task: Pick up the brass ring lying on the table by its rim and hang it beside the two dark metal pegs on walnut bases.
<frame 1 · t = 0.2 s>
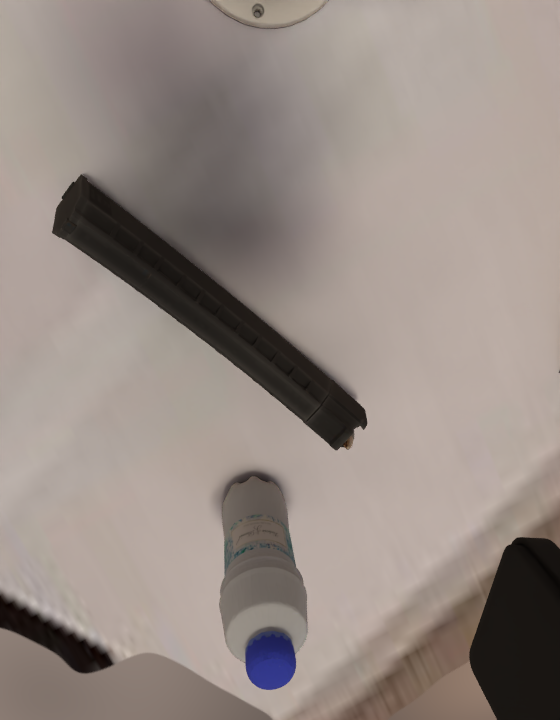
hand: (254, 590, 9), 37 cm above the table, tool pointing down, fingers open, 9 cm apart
bottle: (253, 496, 52), on the table
magazine: (224, 310, 45), on the table
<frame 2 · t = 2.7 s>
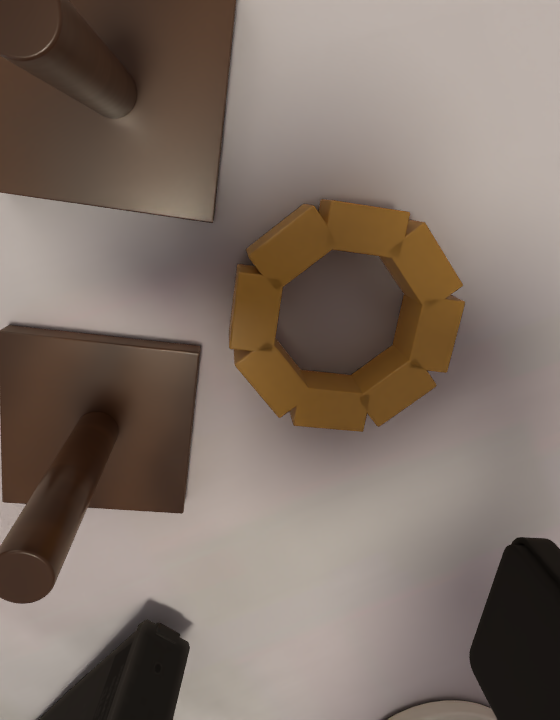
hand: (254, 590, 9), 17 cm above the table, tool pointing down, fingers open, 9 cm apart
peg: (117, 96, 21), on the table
ring: (336, 312, 25), on the table
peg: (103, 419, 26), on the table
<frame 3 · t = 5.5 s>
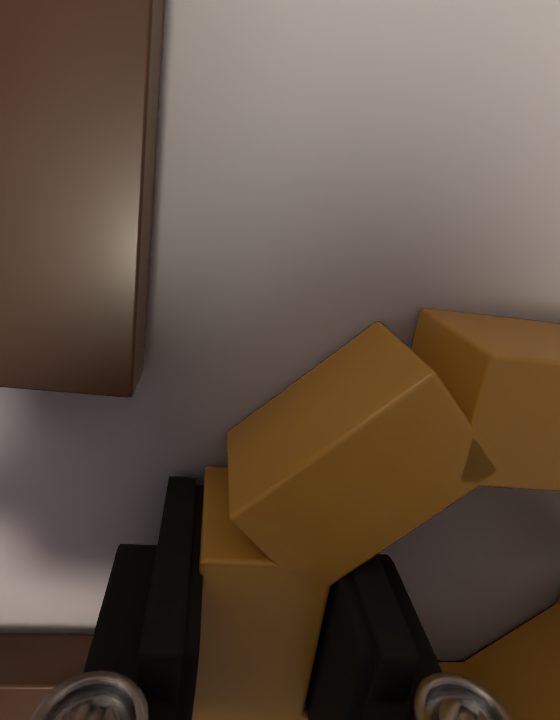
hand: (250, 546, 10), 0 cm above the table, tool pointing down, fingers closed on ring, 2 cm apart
ring: (440, 549, 11), on the table, touching gripper
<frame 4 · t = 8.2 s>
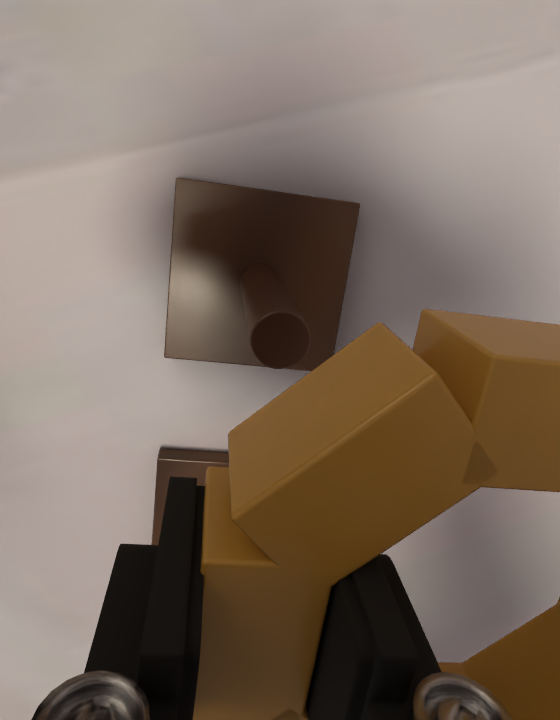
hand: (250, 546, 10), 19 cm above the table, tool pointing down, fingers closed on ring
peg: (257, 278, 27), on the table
ring: (441, 550, 11), point 18 cm above the table, touching gripper
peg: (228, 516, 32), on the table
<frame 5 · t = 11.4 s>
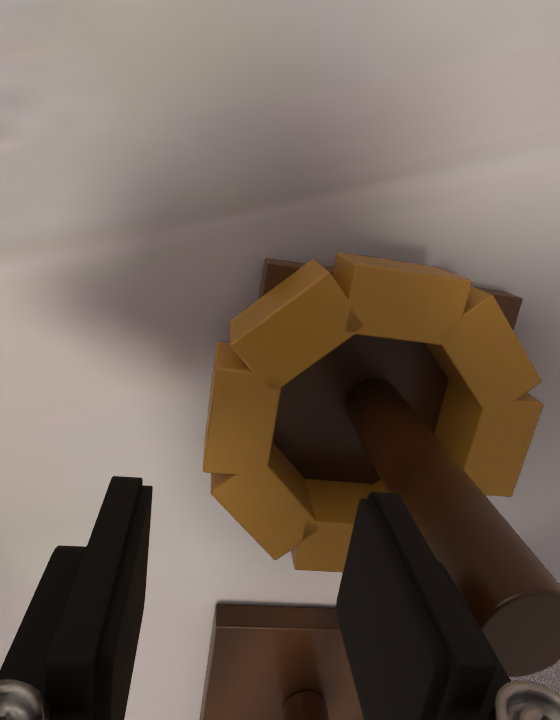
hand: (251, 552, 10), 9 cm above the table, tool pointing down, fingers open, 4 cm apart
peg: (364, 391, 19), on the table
ring: (355, 403, 18), point 1 cm above the table, touching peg
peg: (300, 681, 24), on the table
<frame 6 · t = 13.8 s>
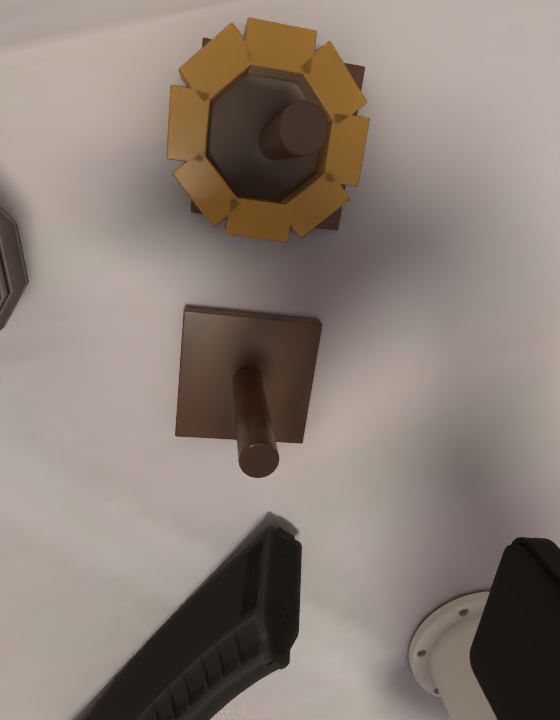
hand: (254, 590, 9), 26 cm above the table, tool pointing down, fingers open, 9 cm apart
magazine: (167, 641, 43), on the table
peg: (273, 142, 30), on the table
ring: (264, 140, 29), point 1 cm above the table, touching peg
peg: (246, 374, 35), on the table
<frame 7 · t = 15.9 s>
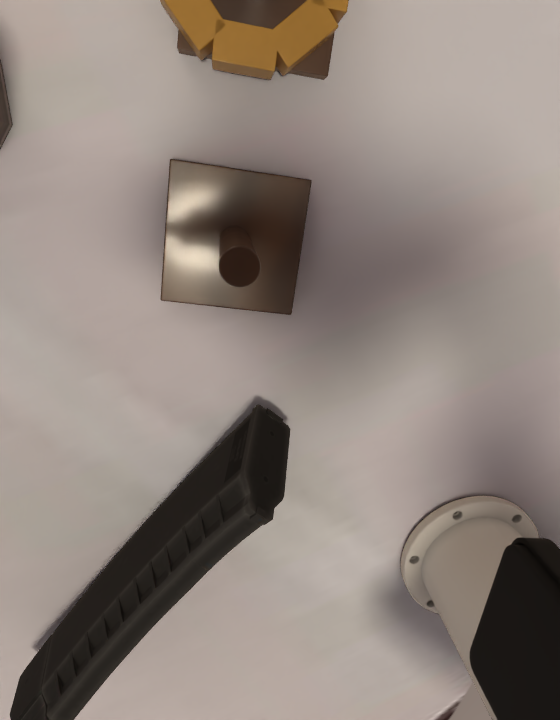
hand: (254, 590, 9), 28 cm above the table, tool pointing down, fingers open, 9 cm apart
magazine: (152, 538, 42), on the table
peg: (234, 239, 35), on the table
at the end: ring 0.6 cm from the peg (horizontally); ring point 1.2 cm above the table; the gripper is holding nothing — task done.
